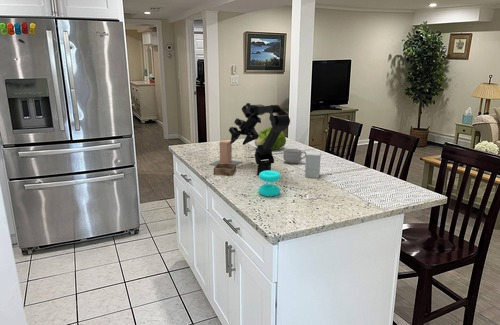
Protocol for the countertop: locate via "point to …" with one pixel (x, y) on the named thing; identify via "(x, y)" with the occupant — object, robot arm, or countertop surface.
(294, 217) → the countertop surface
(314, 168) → the supplement box
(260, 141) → the lettuce
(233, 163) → the rubber mat
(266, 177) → the donuts
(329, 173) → the countertop surface
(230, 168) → the wooden frame
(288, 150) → the teacup
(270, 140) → the robot arm
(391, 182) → the countertop surface
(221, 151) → the terracotta block
